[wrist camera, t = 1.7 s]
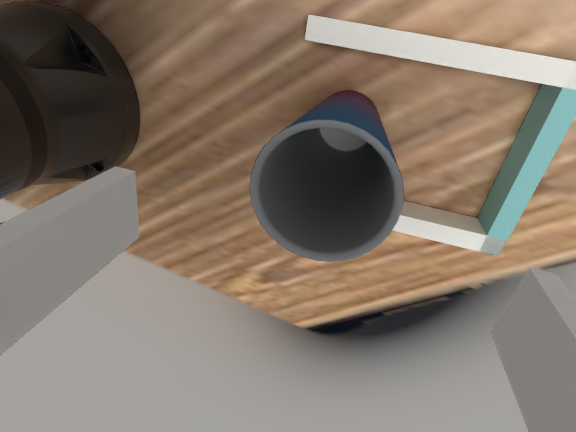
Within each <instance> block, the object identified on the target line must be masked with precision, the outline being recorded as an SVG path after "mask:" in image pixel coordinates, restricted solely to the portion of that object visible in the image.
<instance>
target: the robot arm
mask: <svg viewBox="0 0 576 432" xmlns="http://www.w3.org/2000/svg"><path fill="white" fill-rule="evenodd" d="M138 129H139V107H138V101H137V96H136V92H135V89H134V86H133V83H132V80H131V78H130V75H129V73H128V71H127V69H126V67H125V65H124V63H123V61H122V60H121V58H120V56H119V55H118V53H117V52H116V50H115V49H114V48H113V46H112V45H111V44H110V42H109V41H108V40H107V39H106V38H105V37H104V36H103V35H102V34H101V33H100V32H99V31H98V30H97V29H96V28H95V27H94V26H93V25H91V24H90V23H89V22H88V21H86V20H85V19H83V18H82V17H80V16H79V15H77V14H75V13H73V12H71V11H69V10H67V9H65V8H62V7H59V6H55V5H51V4H44V3H32V2H12V3H6V4H2V5H0V199H1V198H3V197H5V196H8V195H10V194H12V193H14V192H16V191H18V190H21V189H23V188H25V187H28V186H30V185H39V184H51V183H64V182H77V181H85V180H87V181H85V182H83V183H81V184H79V185H77V186H75V187H73V188H71V189H69V190H67V191H65V192H63V193H61V194H59V195H57V196H55V197H54V198H52V199H50V200H48V201H46V202H44V203H42V204H40V205H38V206H36V207H34V208H32V209H30V210H28V211H26V212H24V213H22V214H20V215H18V216H16V217H14V218H12V219H10V220H8V221H6V222H3V223H0V355H1V354H3V353H4V352H5V351H6V350H7V349H9V348H10V347H11V346H12V345H13V344H14V343H16V342H17V341H18V340H19V339H20V338H21V337H23V336H24V335H25V334H26V333H27V332H28V331H30V330H31V329H32V328H33V327H34V326H35V325H37V324H38V323H39V322H40V321H41V320H43V319H44V318H45V317H46V316H47V315H48V314H50V313H51V312H52V311H53V310H54V309H55V308H57V307H58V306H59V305H60V304H61V303H62V302H64V301H65V300H66V299H67V298H68V297H70V295H72V294H73V293H74V292H75V291H77V290H78V289H79V288H80V287H81V286H83V285H84V284H85V283H86V282H87V281H88V280H90V279H91V278H92V277H93V276H94V275H95V274H97V273H98V272H99V271H100V270H101V269H103V267H105V266H106V265H107V264H108V263H110V261H112V260H113V259H114V258H115V257H116V256H118V255H119V254H120V253H121V252H122V251H124V250H125V249H126V248H127V247H128V246H130V245H131V244H132V243H133V242H134V241H135V240H137V239H138V238H139V224H138V207H137V191H136V174H135V171H132V170H128V169H124V168H120V167H118V166H119V165H120V164H122V163H123V162H124V161H125V160H126V159H127V157H128V156H129V154H130V153H131V151H132V149H133V147H134V145H135V142H136V139H137V135H138ZM491 335H492V337H493V340H494V342H495V345H496V348H497V350H498V353H499V355H500V358H501V361H502V364H503V366H504V369H505V371H506V374H507V377H508V379H509V382H510V384H511V387H512V389H513V392H514V395H515V398H516V400H517V403H518V405H519V408H520V411H521V413H522V416H523V419H524V421H525V424H526V426H527V429H528V432H576V300H575V299H574V298H573V296H572V295H571V294H570V292H569V291H568V290H567V289H566V287H565V286H564V284H563V283H562V282H561V280H560V279H559V278H558V276H557V275H556V274H553V273H549V272H544V271H541V270H536V269H532V268H529V269H528V271H527V273H526V274H525V276H524V278H523V279H522V281H521V282H520V284H519V286H518V287H517V289H516V291H515V292H514V294H513V296H512V297H511V299H510V301H509V302H508V304H507V306H506V307H505V309H504V310H503V312H502V314H501V315H500V317H499V319H498V320H497V322H496V323H495V325H494V327H493V328H492V330H491Z"/></svg>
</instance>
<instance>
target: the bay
mask: <svg viewBox="0 0 576 432" xmlns="http://www.w3.org/2000/svg"><path fill="white" fill-rule="evenodd" d="M305 40H308V41H313V42H319V43H324V44H330V45H335V46H341V47H346V48H351V49H357V50H362V51H368V52H373V53H378V54H384V55H389V56H395V57H400V58H406V59H411V60H416V61H422V62H427V63H433V64H438V65H444V66H449V67H454V68H460V69H465V70H471V71H476V72H481V73H487V74H492V75H498V76H503V77H509V78H514V79H519V80H525V81H530V82H536V83H541V84H542V85H541V87H540V89H539V91H538V93H537V95H536V97H535V99H534V101H533V103H532V105H531V108H530V110H529V112H528V114H527V116H526V118H525V120H524V122H523V124H522V126H521V128H520V130H519V132H518V135H517V137H516V139H515V141H514V143H513V145H512V147H511V149H510V151H509V153H508V155H507V157H506V159H505V162H504V164H503V166H502V168H501V170H500V172H499V174H498V176H497V178H496V180H495V182H494V184H493V186H492V189H491V191H490V193H489V195H488V197H487V199H486V201H485V203H484V205H483V207H482V209H481V211H480V213H479V216H478V218H475V217H471V216H467V215H462V214H458V213H454V212H449V211H445V210H441V209H436V208H432V207H428V206H423V205H419V204H415V203H410V202H406V201H403V206H402V211H401V213H400V216H399V219H398V222H397V223H396V225H395V227H394V228H393V230H392V231H397V232H401V233H405V234H409V235H413V236H417V237H421V238H425V239H430V240H434V241H438V242H442V243H446V244H450V245H454V246H458V247H463V248H467V249H471V250H475V251H479V252H483V253H487V254H491V255H496V256H499V255H500V253H501V251H502V249H503V247H504V245H505V244H506V242H507V240H508V238H509V236H510V235H511V233H512V231H513V229H514V227H515V225H516V224H517V222H518V220H519V218H520V216H521V214H522V213H523V211H524V209H525V207H526V205H527V204H528V202H529V200H530V198H531V196H532V194H533V193H534V191H535V189H536V187H537V185H538V184H539V182H540V180H541V178H542V176H543V174H544V173H545V171H546V169H547V167H548V165H549V163H550V162H551V160H552V158H553V156H554V154H555V153H556V151H557V149H558V147H559V145H560V143H561V142H562V140H563V138H564V136H565V134H566V132H567V131H568V129H569V127H570V125H571V123H572V122H573V120H574V118H575V116H576V61H570V60H565V59H559V58H553V57H547V56H542V55H536V54H530V53H525V52H519V51H513V50H508V49H502V48H496V47H491V46H485V45H479V44H473V43H468V42H462V41H456V40H451V39H445V38H439V37H434V36H428V35H422V34H417V33H411V32H405V31H399V30H394V29H388V28H382V27H377V26H371V25H365V24H360V23H354V22H348V21H343V20H337V19H331V18H325V17H320V16H314V15H308V22H307V28H306V34H305Z"/></svg>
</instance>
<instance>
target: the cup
mask: <svg viewBox="0 0 576 432" xmlns="http://www.w3.org/2000/svg"><path fill="white" fill-rule="evenodd" d="M250 194H251V201H252V205H253V208H254V211H255V214H256V216H257V218H258V220H259V222H260V224H261V225H262V226H263V228H264V229H265V230H266V232H267V233H268V234H269V235H270V236H271V237H272V238H273V239H274V240H275V241H276V242H277V243H278V244H280V245H281V246H283V247H284V248H286V249H287V250H289V251H290V252H293V253H295V254H297V255H299V256H302V257H305V258H309V259H313V260H318V261H329V262H331V261H344V260H348V259H352V258H356V257H358V256H360V255H363V254H365V253H367V252H369V251H371V250H372V249H374V248H375V247H376V246H378V245H379V244H381V243H382V242H383V241H384V239H385V238H386V237H387V236H388V235H389V234H390V233H391V231H392V230H393V228H394V227H395V225H396V223H397V222H398V219H399V216H400V213H401V211H402V206H403V198H404V189H403V180H402V176H401V174H400V171H399V168H398V165H397V162H396V159H395V157H394V154H393V151H392V149H391V146H390V144H389V141H388V138H387V136H386V133H385V130H384V128H383V125H382V122H381V120H380V117H379V114H378V112H377V109H376V107H375V105H374V104H373V102H372V101H371V100H370V99H369V98H368V97H366V96H365V95H364V94H361V93H359V92H356V91H341V92H338V93H335V94H333V95H332V96H330V97H329V98H327V99H326V100H325V101H323V102H322V103H320V104H319V105H317V106H316V107H315V108H313V109H312V110H310V111H309V112H308V113H306V114H305V115H303V116H302V117H301V118H299V119H298V120H296V121H295V122H294V123H292V124H291V125H289V126H288V127H287V128H285V129H284V130H282V131H281V132H280V133H278V134H277V135H275V136H274V137H273V138H272V139H271V140H270V141H269V142H268V143H267V144H266V145H265V146H264V147H263V149H262V150H261V152H260V154H259V155H258V157H257V159H256V160H255V164H254V167H253V170H252V173H251V180H250Z"/></svg>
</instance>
